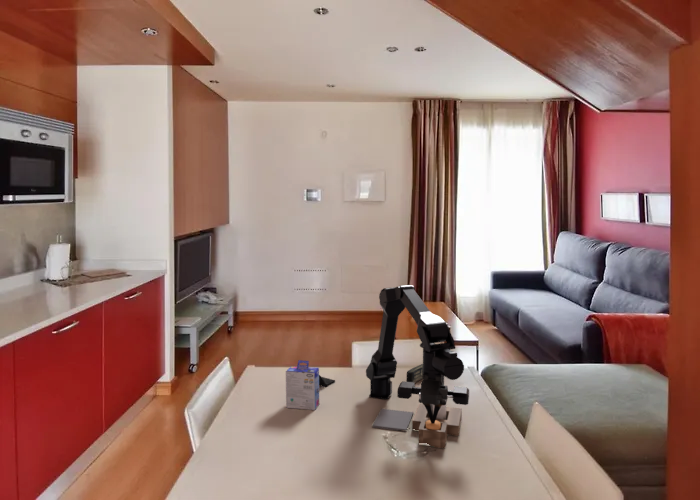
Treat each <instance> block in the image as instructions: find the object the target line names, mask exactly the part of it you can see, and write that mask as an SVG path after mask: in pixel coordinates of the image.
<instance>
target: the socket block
mask: <svg viewBox="0 0 700 500" xmlns="http://www.w3.org/2000/svg"><path fill="white" fill-rule="evenodd" d="M462 413H463V412H462V408H461V407H451V406H446V420H443V419H436V420H437V421H439V422H440V423H441V430H432V429H426V421H428V420H430V418H429V415H428V412H427V410H426V408H425V406H424V404H423V403H418V405H417V407H416V410H415V413H414V414H413V416H412V419H411V421H412V422H411V425H412V427H411V430H412V429H415V430H419V431H418V444H419V443H427V444H429V445H431V446H434V447H433V448H438V449H445V448H446V444H447V439H448V436H455V437H459V436H460V430H461V423H462V418H463V417H462V416H463V415H462Z"/></svg>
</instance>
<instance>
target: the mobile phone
mask: <svg viewBox="0 0 700 500" xmlns="http://www.w3.org/2000/svg"><path fill="white" fill-rule="evenodd" d="M422 380H423V363H421V364H419V365H417V366H414V367H413V368H409V370H407V371H406V382H414V383H417V382H419V381H422Z"/></svg>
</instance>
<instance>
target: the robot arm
mask: <svg viewBox="0 0 700 500" xmlns="http://www.w3.org/2000/svg"><path fill="white" fill-rule="evenodd" d="M378 296H379V297H378V299H379V305H380V307H381V309H382V313H383V314H382V320H381V326H380V334H379V340H378V347H377V350H376V351H375V352H374V353H373V354H372V356H371V359H370V363H369V364H368V366H367V367H366V369H365V376H366V378H368V379H369V380H370V389H369V390H370V394H369V395H368V397H369V398H373V399H380V400H381V399H385V400H388V399H389V398H390V397H391V396H392V393H393V381H391V379H392V378H393V379H395V377H396V374H397V373H396V372H397V367H398V366H397V364H398V361H397V360H396V358H395V356H394V354H393V352H394V347H395V341H396V334H397V328H398V321H399V316H400V315H401V314H402V312H403V311H404V310H405V308H406V310H407V311H408V313H409V314H410V316H411V318H412V319H413V321H414V322H415V323H416V334H417V335H418V337H419V340H420V341H421V343H420V344H419V347H420V348H422V364H423V379H421V383H420V387H419V386H416V384H415V383H416V382H415V383H414V382H407V381H406V380H405V381H401V382H399V384H398V388H397V392H396V393H397V396H396V397H397V398H398V399H404V400H405V399H406V400H409V399H410V398H412V395H418V396H419V397H418V403H419V404H424V406H425V408H426V410H427V412H428V415H429V418H430V421H431V423H432V424H434V423H435V420H436V417H437V414H438V411H439V409H440V408H441V406H442V405H446V406H447V403H448V398H451V399H452V402H453V403H454V404H456V405H461V406H462V405H464V406H468V405H469V401H470V389H469V388H468V387H465V386H458V385H457V386H454V387H453V390H451V389H448V385H445V378H447V379H449V380H450V381H454V380H455V381H456V380H457V379H459V378H460V377H461V376H462V375H463V373H464V370H465V365H464V361H463V360H461V359H460V358H459V357H458V353H457V351H454V350H455V349H456V345H455V339H454V337H453V335H452V332H451V329H450V327H449V326H448V324H447V322H446V321H445V320H444V319H443V318H442V317H441V316H439V315H437V314H434V313H432V312H431V311H430V309H429V308H428V306H427V305H426V304H425V302H424V301H423V300H422V299H421V297H420V296H419V295H418V293H417V292H416V288H415V286H414V285H411V284H403V285H398V286H396V287H395V286H394V287H383V288H382V289H381V290H380V292H379V293H378ZM433 405H435V407H434V414H433Z"/></svg>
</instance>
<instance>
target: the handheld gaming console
mask: <svg viewBox="0 0 700 500" xmlns="http://www.w3.org/2000/svg"><path fill="white" fill-rule="evenodd" d="M335 383H336V380H335V379H332V378H327V377H325V376H321V375H320V374H319V385H320V386H319V387H322V388H327V387H328V386H329V387H330V386H331V385H333V384H335Z"/></svg>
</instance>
